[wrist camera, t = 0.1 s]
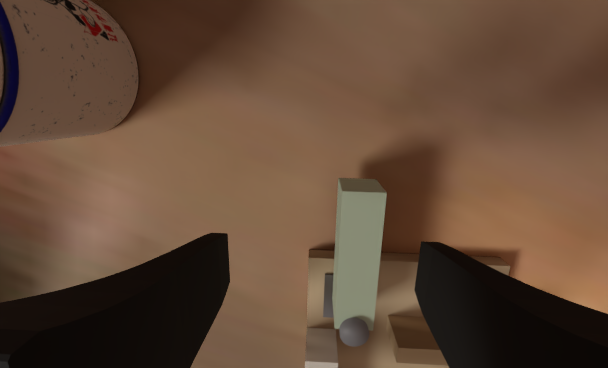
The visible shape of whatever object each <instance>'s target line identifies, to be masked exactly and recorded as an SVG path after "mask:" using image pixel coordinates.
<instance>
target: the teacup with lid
mask: <svg viewBox="0 0 608 368" xmlns="http://www.w3.org/2000/svg"><path fill="white" fill-rule="evenodd" d="M138 79H139V78H138V67H137V62H136V57H135V54H134V51H133V49H132V46H131V44H130V42H129V40H128V38H127V36H126V35H125V33H124V31H123V30H122V29H121V27H120V26H119V25H118V23H117V22H116V21H115V20H114V19H113V18H112V17H111V16H110V15H109V14H108V13H107V12H106V11H105V10H104V9H102V8H101V7H100V6H98V5H97V4H95V3H94V2H92V1H90V0H0V146H8V145H16V144H24V143H32V142H39V141H47V140H55V139H63V138H71V137H79V136H86V135H94V134H99V133H102V132H105V131H107V130H110V129H112V128H113V127H115V126H116V125H118V124H119V123H120V122H121V121H122V120H123V119H124V118H125V117H126V116H127V114H128V113H129V111H130V110H131V108H132V106H133V104H134V101H135V99H136V95H137V90H138Z"/></svg>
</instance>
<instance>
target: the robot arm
mask: <svg viewBox="0 0 608 368" xmlns="http://www.w3.org/2000/svg"><path fill="white" fill-rule="evenodd" d="M229 283H230V273H229V254H228V235H227V234H226V233H210V234H207V235H204V236H202V237H200V238H197V239H195V240H193V241H191V242H189V243H187V244H185V245H183V246H181V247H179V248H176V249H174V250H172V251H170V252H168V253H166V254H164V255H161V256H159V257H157V258H154V259H152V260H150V261H148V262H145V263H143V264H141V265H138V266H136V267H133V268H130V269H128V270H125V271H122V272H119V273H116V274H114V275H111V276H108V277H105V278H102V279H98V280H94V281H91V282H87V283H84V284H80V285H77V286H73V287H70V288H66V289H62V290H58V291H54V292H50V293H45V294H41V295H37V296H32V297H27V298H22V299H17V300H12V301H7V302H2V303H0V368H190V367H191V365H192V363H193V361H194V359H195V357H196V355H197V353H198V351H199V349H200V347H201V345H202V343H203V341H204V339H205V337H206V335H207V333H208V331H209V329H210V327H211V326H212V324H213V322H214V320H215V318H216V316H217V314H218V312H219V310H220V308H221V305H222V303H223V300H224V297H225V295H226V292H227V289H228V286H229ZM414 291H415V294H416V297H417V300H418V303H419V306H420V309H421V311H422V314H423V316H424V319H425V321H426V323H427V325H428V327H429V329H430V331H431V333H432V335H433V337H434V339H435V341H436V343H437V345H438V346H439V348H440V350H441V352H442V354H443V356H444V358H445V360H446V362H447V364H448V366H449V368H608V314H606V313H603V312H600V311H597V310H594V309H591V308H588V307H585V306H582V305H579V304H576V303H573V302H571V301H568V300H565V299H563V298H560V297H557V296H555V295H552V294H550V293H547V292H545V291H542V290H539V289H537V288H535V287H532V286H530V285H528V284H525V283H523V282H521V281H519V280H517V279H514V278H512V277H510V276H508V275H506V274H504V273H501V272H499V271H497V270H495V269H493V268H491V267H489V266H487V265H485V264H483V263H481V262H479V261H477V260H475V259H473V258H471V257H470V256H468V255H466V254H464V253H462V252H460V251H458V250H456V249H454V248H451V247H449V246H447V245H445V244H442V243H439V242H421V247H420V254H419V261H418V268H417V275H416V282H415V289H414Z"/></svg>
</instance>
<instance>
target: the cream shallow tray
mask: <svg viewBox="0 0 608 368" xmlns="http://www.w3.org/2000/svg"><path fill="white" fill-rule="evenodd" d="M334 255H335V251H331V250H309V264H308V303H307V335H306V354H305V368H449V366H448V364H447V362H446V360H445V358H444V356H443V354H442V352H441V350H440V348H439V346H438V345H437V343H436V341H435V339H434V337H433V335H432V333H431V331H430V329H429V327H428V325H427V323H426V321H425V319H424V316H423V314H422V311H421V309H420V306H419V303H418V300H417V297H416V294H415V291H414V289H415V282H416V275H417V268H418V261H419V254H405V253H381V256H380V266H379V276H378V286H377V296H376V306H375V317H374V327H373V331H370V330H369V339H368V340H367V342H366V343H364V344H363V345H361V346H356V347H353V346H348V345H346V344H345V343H343V341H342V340H341V338H340V332H339V329H335V328H334V315H333V301H332V293H333V274H334ZM470 257H471V258H473V259H475V260H477V261H479V262H481V263H483V264H485V265H487V266H489V267H491V268H493V269H495V270H497V271H499V272H501V273H504V274H506V275H508V274H509V270H510V265H508V264H507V263H506V262H505V261H504V260H502V259H501V258H500V257H479V256H470Z"/></svg>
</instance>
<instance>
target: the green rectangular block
mask: <svg viewBox="0 0 608 368" xmlns="http://www.w3.org/2000/svg"><path fill="white" fill-rule="evenodd" d="M386 196H387V192H386V191H385V190H384V189H383V187H382V186H381V185H380V184H379V182H378V181H377V180H376V179H355V178H339V179H338V198H337V217H336V236H335V255H334V274H333V293H332V301H333V315H334V328H335V329H339V332H340V338H341V340H342V341H343V343H345V344H346V345H348V346H353V347H356V346H361V345H363V344H364V343H366V342H367V340H368V339H369V330H370V331H373V327H374V317H375V306H376V296H377V286H378V276H379V266H380V256H381V246H382V236H383V226H384V216H385V206H386Z"/></svg>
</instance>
